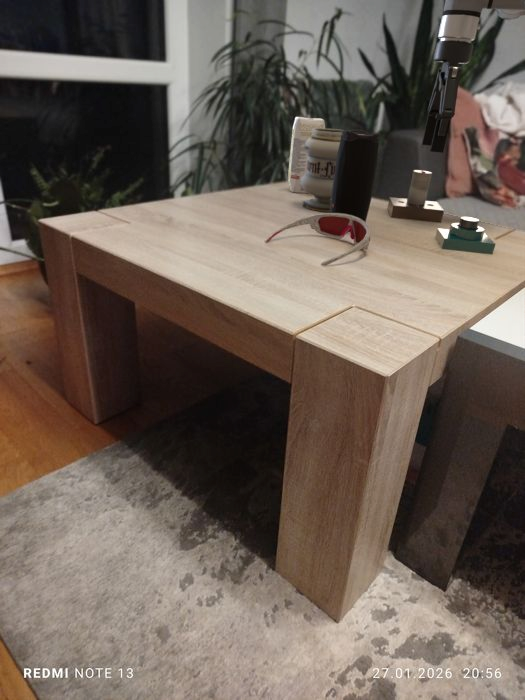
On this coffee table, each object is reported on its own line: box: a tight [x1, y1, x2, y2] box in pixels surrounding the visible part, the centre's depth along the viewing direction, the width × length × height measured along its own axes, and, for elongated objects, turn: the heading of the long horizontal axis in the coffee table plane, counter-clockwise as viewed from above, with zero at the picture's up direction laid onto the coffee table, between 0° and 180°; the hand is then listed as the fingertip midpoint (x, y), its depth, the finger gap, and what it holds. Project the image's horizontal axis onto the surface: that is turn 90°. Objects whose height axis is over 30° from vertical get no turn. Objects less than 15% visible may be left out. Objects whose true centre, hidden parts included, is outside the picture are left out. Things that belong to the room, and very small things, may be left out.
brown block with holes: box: [386, 196, 445, 224], centre depth 125 cm, size 12×10×3 cm
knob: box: [406, 169, 433, 205], centre depth 122 cm, size 4×4×8 cm
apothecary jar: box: [300, 127, 344, 213], centre depth 122 cm, size 12×12×18 cm
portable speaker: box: [329, 128, 381, 232], centre depth 107 cm, size 9×9×20 cm
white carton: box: [287, 116, 326, 194], centre depth 138 cm, size 8×9×19 cm
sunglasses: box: [264, 212, 372, 267], centre depth 95 cm, size 17×17×5 cm
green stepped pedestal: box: [434, 222, 496, 255], centre depth 103 cm, size 10×8×4 cm
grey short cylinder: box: [458, 216, 480, 230], centre depth 102 cm, size 4×4×2 cm
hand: (431, 148), depth 116 cm, fingers open, 13 cm apart
